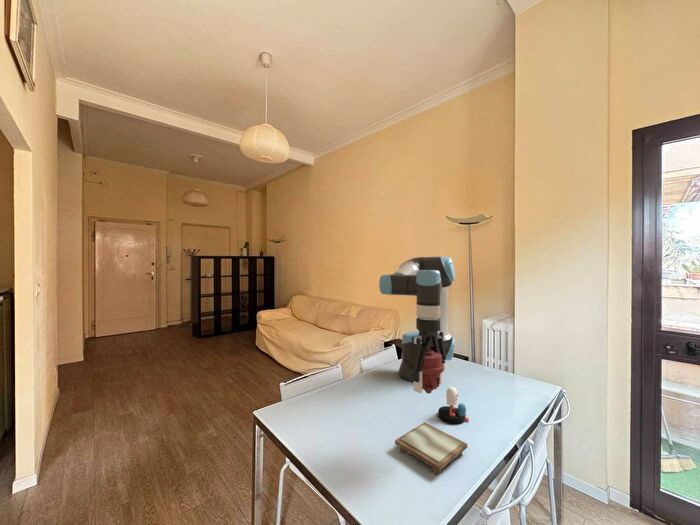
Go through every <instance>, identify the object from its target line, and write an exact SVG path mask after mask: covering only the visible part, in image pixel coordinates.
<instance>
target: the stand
mask: <svg viewBox="0 0 700 525" xmlns="http://www.w3.org/2000/svg"><path fill="white" fill-rule="evenodd" d="M394 444H395V446H398V447H399V451H400V452H401V453H403V454H407V453H409V454H411V455H413V456H414V457H416V458H417V459H418V460H420V461H422V462H424V463H425V464H427V465H428V466H430V467H431V468H432V472H433V474H435V475H440V474H441V473H442V469H444V468H445V467H446V466H447V465H449V464H450V463H451V462H452V461H453V460H454V459H456V458H457V457H462V456H463V452H464V451H465V450H466V449H467V448H468V443H467V442H465V441H463V440H460V439H459V438H457V437H455V436H453V435H450V434H449V433H447V432H445V431H442V430H441V429H438V428H437V427H434V426H433V425H430V424H428V423H427V422H426V421H425V422H423V423H421V424H420V425H418V426H416V427H414V428H413V429H411V430H410V431H408V432H406V433H405V434H403V435H401V436H399V437H398V438H397V439H394Z"/></svg>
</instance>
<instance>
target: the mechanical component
mask: <svg viewBox="0 0 700 525" xmlns="http://www.w3.org/2000/svg"><path fill="white" fill-rule="evenodd" d="M417 367H418V366H417ZM420 371H422V390H423V391H425V393H426V394H428V395H429V394H431V393H432V392H433V391H434V390H437V389H438V388H439V387H440V384H439V374H440V373H442V374H443V373H444V371H445V364H443V363H442V355H441V354H439V353H437V352H434V351H433V350H430V349H428V351H426V354H425V357H424V361H423V364H422V367H421V370H420Z"/></svg>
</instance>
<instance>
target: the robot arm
mask: <svg viewBox="0 0 700 525" xmlns="http://www.w3.org/2000/svg"><path fill="white" fill-rule="evenodd" d="M455 277H456V276H455V269H454V264H453V259H452V258H451V257H450V256H449V257H447V256H417V257H413V258H409V259H408V260H406V261H404V262H402V263H401V264H400V265H399V268H398V269H397V270H396V271H395V272H393V273H392V274H389V273H387V274H382V275H380V277H379V280H378V282H379V283H378V284H379V285H378V286H379V287H378V288H379V291H380V294H382V295H387V296H411V297H412V296H414V297H415V296H416V315H415V316H416V319H415V320H416V323H415V327H416V331H407V332H404V334H403V335H402V338H401V362H400V366H399V369H398V377H399V378H401V379H402V380H404V381H407V382H413V391H414V392H417V393H419V394H423V389H422V371H420V370H421V367H422V364H423V361H424V357H425V354H426V351H428V349H430V350H433V351H434V352H437V353H439V354H441V355H442V363H443V364H444V365H445V364H446V361H452V360H453V357H454V352H455V343H456V339H455V337H453V336H452V333H451V332H450V329H449V328H450V327H449V319H450V318H449V317H450V316H449V288H450V287H451V286H452V284H453V282H455V281H456V280H455V279H456V278H455ZM417 366H418V367H417ZM442 384H443V372H442V373H440V374H439V385H442Z"/></svg>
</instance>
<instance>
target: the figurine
mask: <svg viewBox="0 0 700 525" xmlns="http://www.w3.org/2000/svg"><path fill="white" fill-rule="evenodd" d="M445 395H446V396H445V399H446V405H444V406H441V407H439V408H438V412H437V415H438V419H439V420H440V421H441V422H443V423H445V424H448V425H452V426H453V425H455V426H456V425H458V426H459V425H463V424H464V423H465V422H470V420H469V417H467V412H466V411H467V407H466V405H465V404H464V403H461V402H460V403H459V402H458V401H459V393H458V391H457V389H456V388H455V387H453V386H449V387H448V388H447V390H446V394H445ZM458 403H459V404H458ZM455 406H457V407H455Z"/></svg>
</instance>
